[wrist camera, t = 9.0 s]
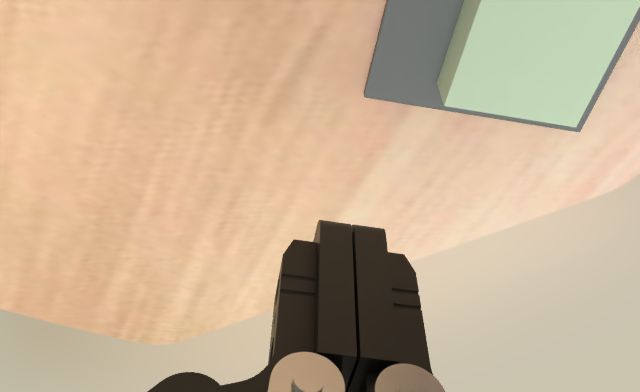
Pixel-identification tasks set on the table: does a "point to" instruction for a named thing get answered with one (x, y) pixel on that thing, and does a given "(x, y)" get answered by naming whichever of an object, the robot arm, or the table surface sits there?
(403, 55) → the mat
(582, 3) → the block
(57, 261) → the table surface
